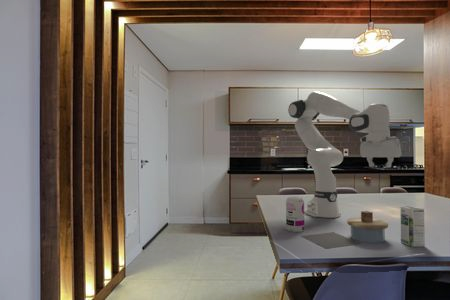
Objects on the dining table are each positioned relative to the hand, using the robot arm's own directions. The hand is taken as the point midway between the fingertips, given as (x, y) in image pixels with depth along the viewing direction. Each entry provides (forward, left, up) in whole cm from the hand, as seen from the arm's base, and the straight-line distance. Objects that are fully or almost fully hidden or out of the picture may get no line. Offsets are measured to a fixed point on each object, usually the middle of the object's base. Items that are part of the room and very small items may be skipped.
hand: (379, 167), depth 128 cm
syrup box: (+21, -7, -29) cm, 37 cm away
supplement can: (-11, -39, -29) cm, 50 cm away
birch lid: (+10, -18, -23) cm, 31 cm away
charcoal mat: (+7, -34, -29) cm, 45 cm away
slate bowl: (+10, -18, -29) cm, 36 cm away
